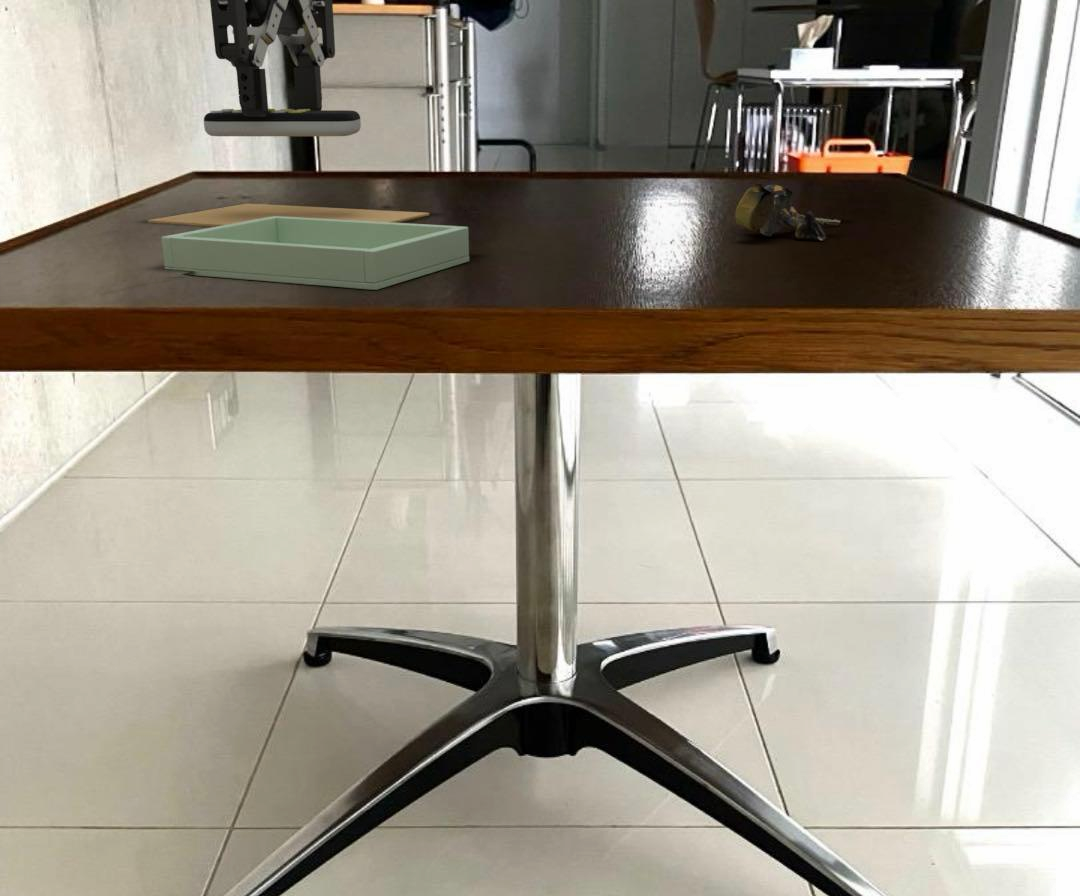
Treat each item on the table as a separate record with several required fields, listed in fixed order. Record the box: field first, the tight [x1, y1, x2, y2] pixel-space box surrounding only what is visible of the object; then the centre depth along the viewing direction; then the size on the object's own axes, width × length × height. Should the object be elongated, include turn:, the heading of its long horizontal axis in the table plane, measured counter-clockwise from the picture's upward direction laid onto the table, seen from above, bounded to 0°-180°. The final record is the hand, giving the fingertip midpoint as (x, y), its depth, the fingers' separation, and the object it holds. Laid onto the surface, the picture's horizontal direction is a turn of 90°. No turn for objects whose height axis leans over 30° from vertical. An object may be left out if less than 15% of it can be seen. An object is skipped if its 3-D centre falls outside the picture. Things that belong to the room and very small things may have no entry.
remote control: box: [203, 108, 362, 137], centre depth 105 cm, size 6×13×2 cm, turn 89°
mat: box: [147, 203, 430, 227], centre depth 108 cm, size 20×14×1 cm
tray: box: [160, 216, 470, 291], centre depth 84 cm, size 17×13×2 cm
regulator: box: [734, 183, 842, 241], centre depth 98 cm, size 8×4×15 cm
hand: (283, 114), depth 104 cm, fingers closed on remote control, 7 cm apart
